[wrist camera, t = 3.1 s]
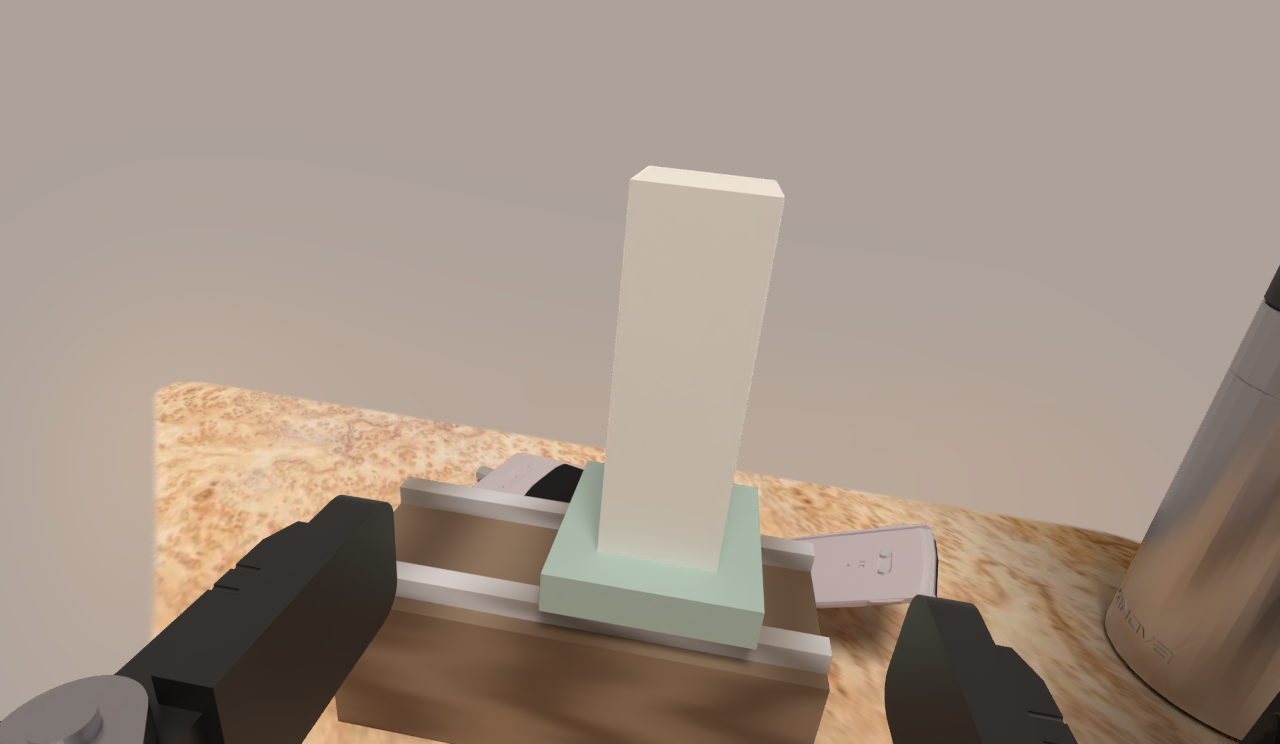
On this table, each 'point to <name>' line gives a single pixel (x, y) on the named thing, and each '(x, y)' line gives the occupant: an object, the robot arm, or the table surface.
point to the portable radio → (1266, 726)
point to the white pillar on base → (677, 420)
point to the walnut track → (568, 644)
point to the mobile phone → (843, 563)
